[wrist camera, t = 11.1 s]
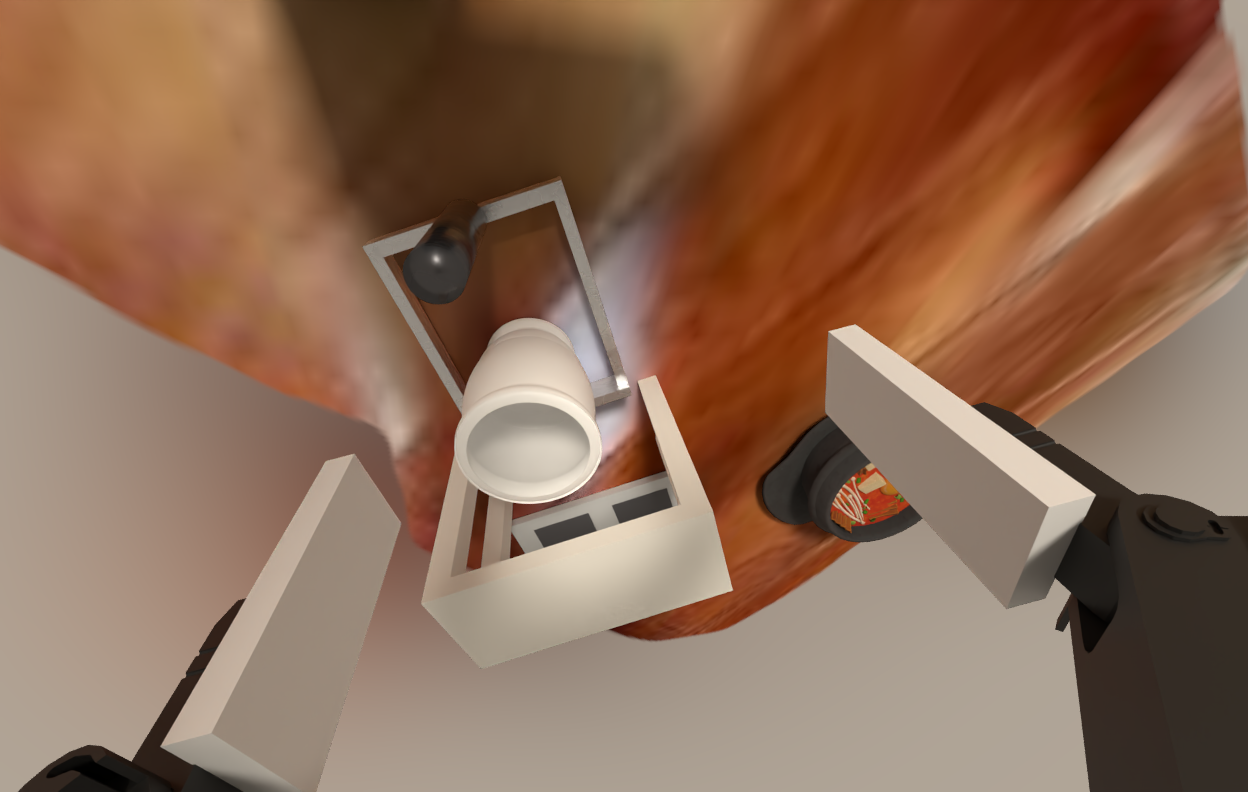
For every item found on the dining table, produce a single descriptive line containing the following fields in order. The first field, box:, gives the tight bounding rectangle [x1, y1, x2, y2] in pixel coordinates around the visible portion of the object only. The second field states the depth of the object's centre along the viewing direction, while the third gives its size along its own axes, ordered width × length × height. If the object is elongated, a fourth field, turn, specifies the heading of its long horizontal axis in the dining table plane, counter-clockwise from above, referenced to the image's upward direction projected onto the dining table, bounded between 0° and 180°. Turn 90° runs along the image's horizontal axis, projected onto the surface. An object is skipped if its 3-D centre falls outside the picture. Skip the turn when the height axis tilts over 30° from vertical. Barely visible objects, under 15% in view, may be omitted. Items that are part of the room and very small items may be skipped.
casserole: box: [762, 416, 923, 542], centre depth 57 cm, size 25×19×8 cm
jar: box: [454, 318, 602, 504], centre depth 40 cm, size 11×10×15 cm
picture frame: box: [362, 176, 632, 414], centre depth 37 cm, size 21×16×15 cm
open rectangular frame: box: [421, 375, 733, 669], centre depth 48 cm, size 22×22×20 cm
